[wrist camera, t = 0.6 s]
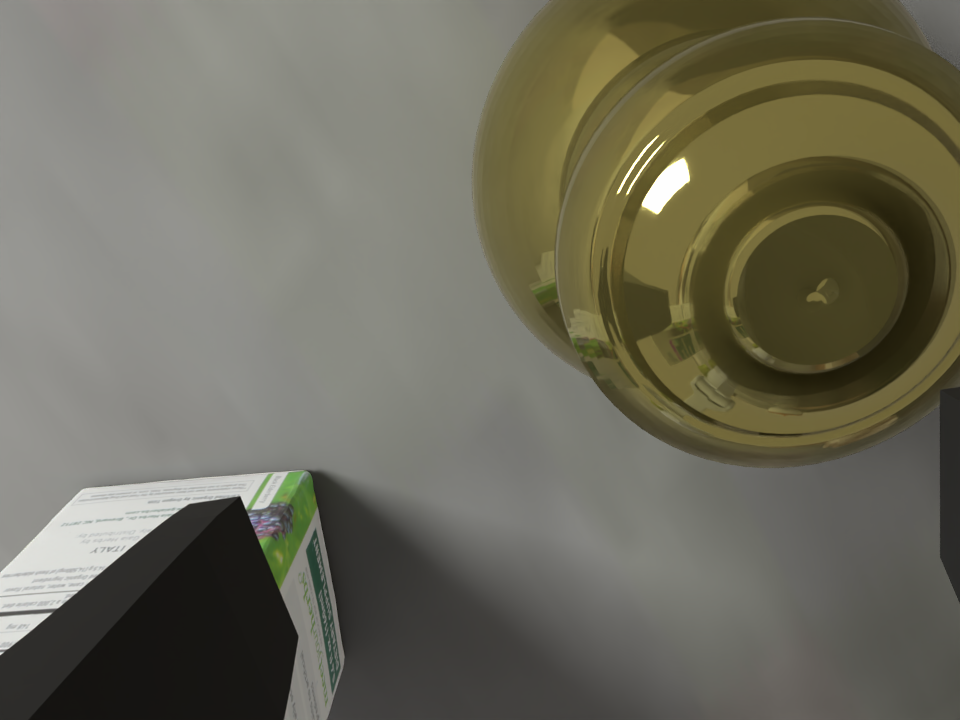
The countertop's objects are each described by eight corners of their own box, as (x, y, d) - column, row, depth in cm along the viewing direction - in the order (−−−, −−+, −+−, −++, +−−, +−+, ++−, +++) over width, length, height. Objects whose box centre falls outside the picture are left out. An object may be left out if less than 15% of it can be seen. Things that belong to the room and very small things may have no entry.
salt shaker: (714, 387, 20) (874, 718, 10) (418, 210, 19) (302, 402, 9) (944, 85, 17) (1423, 163, 8) (618, -137, 16) (730, -345, 7)
